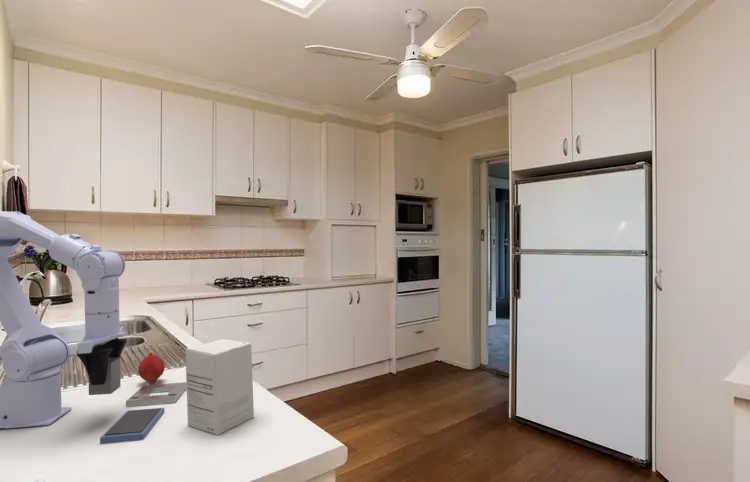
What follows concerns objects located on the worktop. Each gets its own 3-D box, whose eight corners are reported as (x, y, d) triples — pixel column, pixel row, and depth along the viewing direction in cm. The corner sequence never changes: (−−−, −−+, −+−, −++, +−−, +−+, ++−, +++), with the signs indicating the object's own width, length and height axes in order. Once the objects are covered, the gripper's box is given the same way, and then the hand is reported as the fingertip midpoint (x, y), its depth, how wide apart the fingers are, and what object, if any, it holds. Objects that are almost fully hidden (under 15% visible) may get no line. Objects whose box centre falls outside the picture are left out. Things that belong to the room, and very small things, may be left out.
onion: (133, 385, 103) (132, 353, 103) (155, 378, 108) (154, 347, 108) (148, 388, 100) (147, 355, 100) (169, 381, 105) (169, 349, 105)
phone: (100, 446, 73) (99, 436, 73) (127, 418, 85) (127, 409, 85) (143, 442, 74) (143, 432, 74) (164, 415, 86) (164, 406, 86)
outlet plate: (125, 406, 89) (125, 400, 89) (144, 390, 99) (143, 384, 99) (175, 402, 91) (175, 396, 91) (188, 387, 101) (188, 381, 101)
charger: (88, 395, 80) (88, 363, 80) (99, 387, 84) (98, 357, 84) (111, 393, 81) (111, 361, 81) (120, 386, 85) (120, 356, 85)
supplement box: (224, 408, 87) (223, 337, 87) (255, 417, 83) (253, 342, 83) (185, 425, 79) (183, 347, 79) (216, 436, 75) (214, 353, 75)
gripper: (106, 317, 76) (108, 391, 76) (138, 305, 90) (140, 367, 90) (64, 319, 75) (65, 394, 75) (103, 306, 89) (104, 369, 89)
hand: (103, 380), depth 82 cm, fingers closed on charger, 4 cm apart
